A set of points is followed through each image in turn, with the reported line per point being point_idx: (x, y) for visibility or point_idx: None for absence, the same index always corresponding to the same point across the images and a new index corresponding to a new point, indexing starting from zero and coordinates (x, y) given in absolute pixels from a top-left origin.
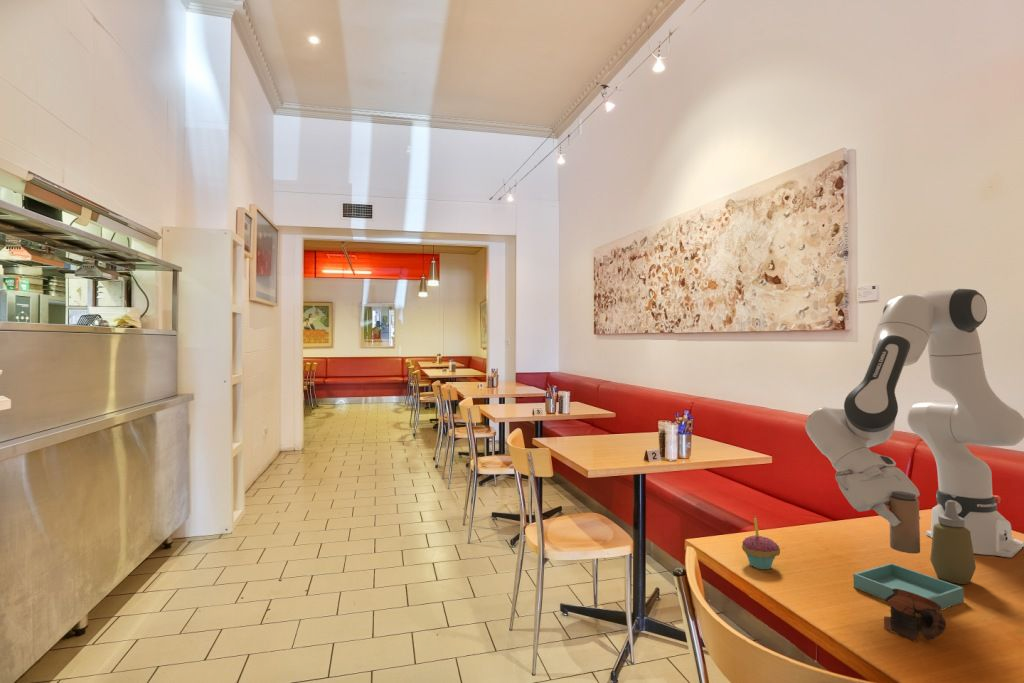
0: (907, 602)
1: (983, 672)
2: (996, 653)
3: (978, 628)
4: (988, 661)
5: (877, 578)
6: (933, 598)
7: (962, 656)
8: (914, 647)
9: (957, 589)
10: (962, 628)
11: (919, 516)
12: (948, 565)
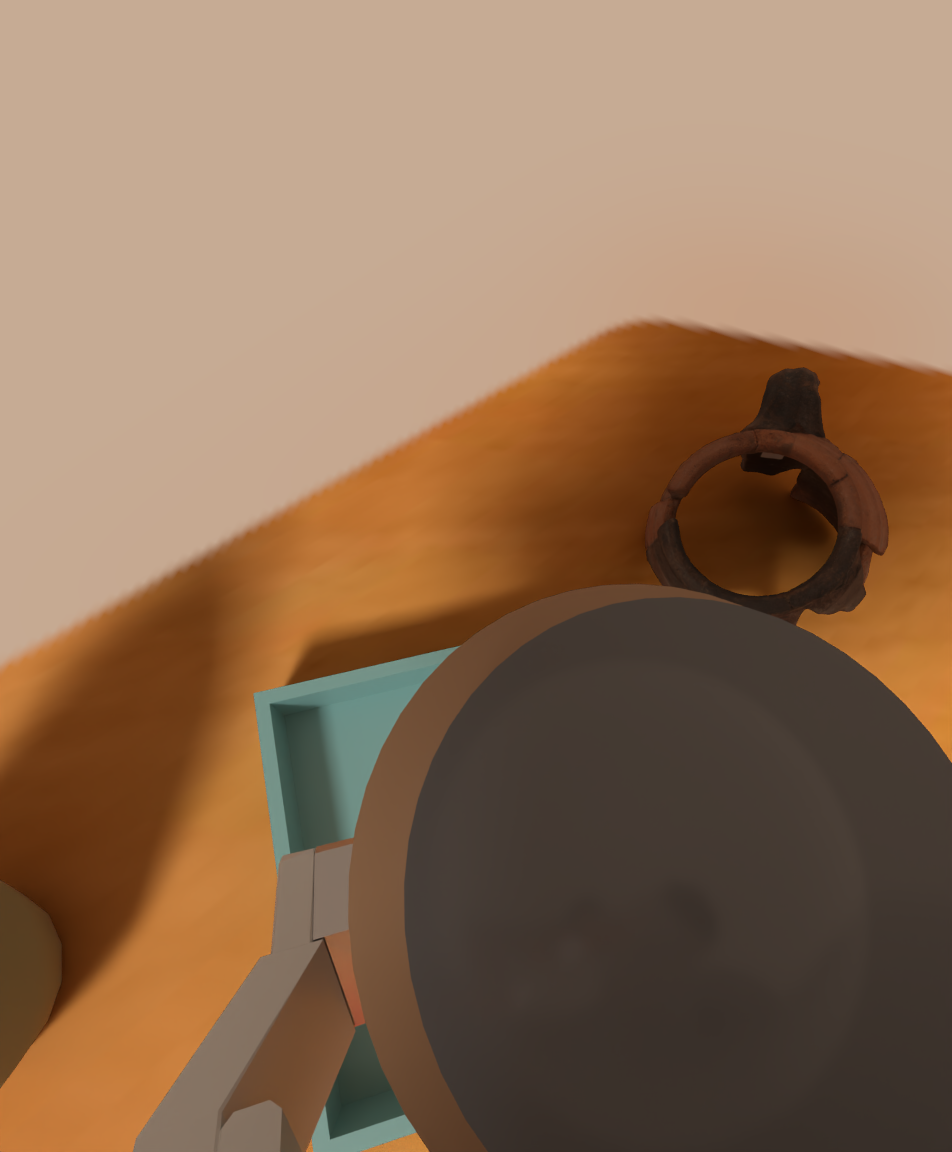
0: (860, 471)
1: (719, 337)
2: (578, 392)
3: (468, 515)
4: (649, 368)
5: None
6: None
7: (707, 401)
8: None
9: (312, 680)
10: (532, 527)
11: (286, 863)
12: (22, 937)
